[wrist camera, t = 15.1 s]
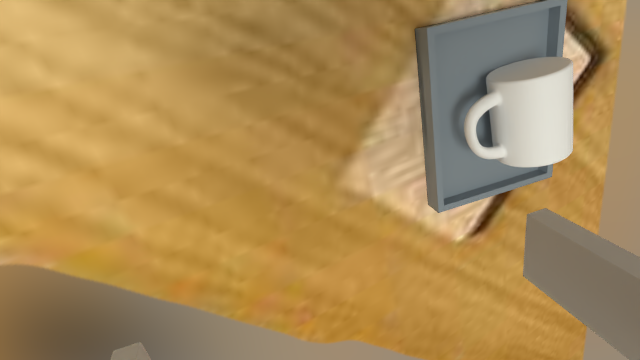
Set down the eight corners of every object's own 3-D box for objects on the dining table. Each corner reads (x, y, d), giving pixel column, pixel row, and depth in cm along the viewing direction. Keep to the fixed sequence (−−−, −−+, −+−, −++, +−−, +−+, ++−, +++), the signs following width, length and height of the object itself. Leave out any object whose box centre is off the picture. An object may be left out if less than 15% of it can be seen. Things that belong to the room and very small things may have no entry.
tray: (414, 28, 37) (427, 27, 35) (548, -2, 40) (567, -5, 38) (428, 204, 46) (438, 212, 44) (536, 170, 49) (551, 176, 47)
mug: (529, 54, 41) (594, 57, 34) (533, 132, 45) (591, 148, 38) (439, 90, 40) (486, 100, 32) (452, 166, 44) (496, 190, 37)
